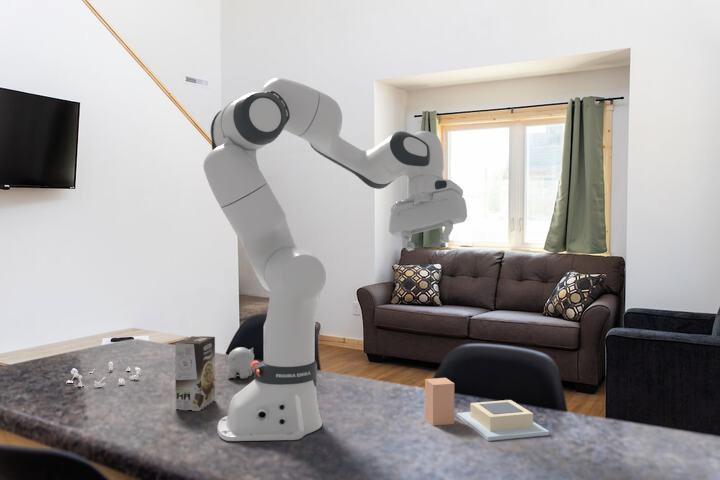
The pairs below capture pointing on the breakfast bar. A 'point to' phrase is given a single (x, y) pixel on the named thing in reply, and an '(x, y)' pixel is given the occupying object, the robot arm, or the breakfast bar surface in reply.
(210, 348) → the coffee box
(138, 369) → the game piece set
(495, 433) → the base
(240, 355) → the chubby cartoon animal
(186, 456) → the breakfast bar surface
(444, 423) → the pillar block
